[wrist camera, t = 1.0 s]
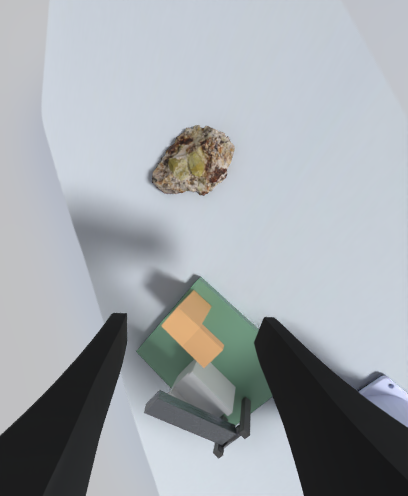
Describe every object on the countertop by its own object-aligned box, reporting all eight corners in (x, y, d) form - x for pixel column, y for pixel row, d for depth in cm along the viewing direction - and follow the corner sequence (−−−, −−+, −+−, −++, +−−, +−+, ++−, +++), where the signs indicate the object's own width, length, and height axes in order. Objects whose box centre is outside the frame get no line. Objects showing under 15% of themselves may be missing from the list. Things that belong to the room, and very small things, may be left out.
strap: (243, 425, 21) (244, 435, 20) (224, 440, 22) (225, 449, 21) (161, 388, 19) (160, 396, 18) (144, 405, 19) (142, 414, 19)
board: (300, 367, 22) (312, 405, 18) (220, 430, 26) (212, 476, 21) (200, 276, 25) (187, 288, 20) (140, 347, 28) (116, 371, 23)
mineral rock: (214, 96, 20) (238, 157, 18) (226, 126, 24) (246, 179, 22) (136, 147, 23) (148, 204, 21) (158, 166, 27) (169, 215, 25)
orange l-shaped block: (230, 323, 23) (223, 350, 18) (214, 338, 24) (203, 368, 19) (193, 289, 24) (177, 306, 19) (180, 305, 25) (161, 325, 20)
